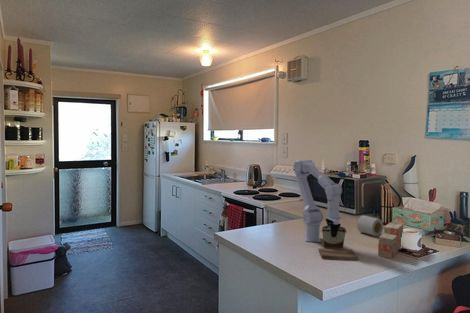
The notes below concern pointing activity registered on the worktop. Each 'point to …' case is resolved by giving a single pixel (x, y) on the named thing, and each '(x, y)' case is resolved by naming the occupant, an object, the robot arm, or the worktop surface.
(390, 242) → the stack of blocks
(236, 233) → the worktop surface
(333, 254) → the walnut base
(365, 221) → the toilet paper
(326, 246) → the food container
